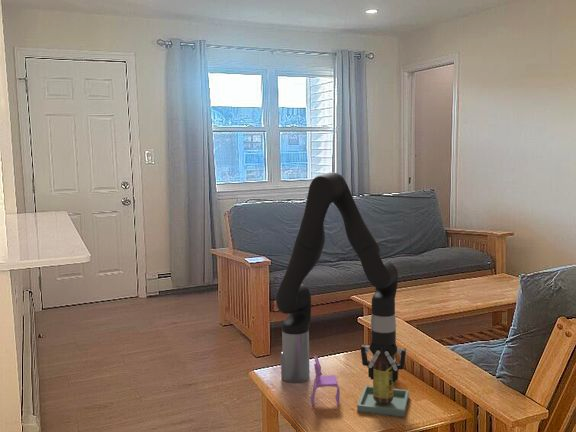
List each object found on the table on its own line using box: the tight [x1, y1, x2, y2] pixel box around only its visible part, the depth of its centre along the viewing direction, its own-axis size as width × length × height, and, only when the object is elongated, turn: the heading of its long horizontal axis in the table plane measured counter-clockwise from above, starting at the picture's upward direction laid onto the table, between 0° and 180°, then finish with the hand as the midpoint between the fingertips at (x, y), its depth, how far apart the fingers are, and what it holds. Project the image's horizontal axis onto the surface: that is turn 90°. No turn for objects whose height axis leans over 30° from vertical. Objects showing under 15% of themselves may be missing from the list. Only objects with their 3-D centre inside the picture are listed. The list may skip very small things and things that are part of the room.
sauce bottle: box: [372, 346, 394, 404], centre depth 168 cm, size 7×6×20 cm
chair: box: [310, 355, 341, 408], centre depth 171 cm, size 8×9×15 cm
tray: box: [356, 385, 410, 419], centre depth 169 cm, size 14×14×2 cm
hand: (383, 379), depth 168 cm, fingers closed on sauce bottle, 6 cm apart
